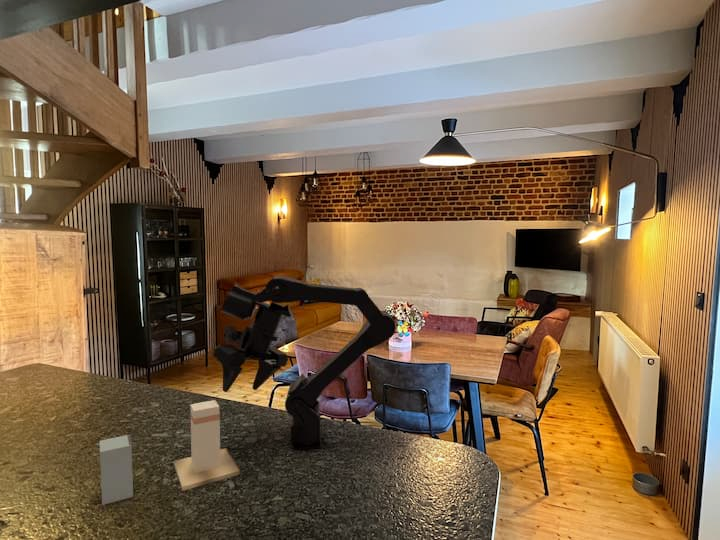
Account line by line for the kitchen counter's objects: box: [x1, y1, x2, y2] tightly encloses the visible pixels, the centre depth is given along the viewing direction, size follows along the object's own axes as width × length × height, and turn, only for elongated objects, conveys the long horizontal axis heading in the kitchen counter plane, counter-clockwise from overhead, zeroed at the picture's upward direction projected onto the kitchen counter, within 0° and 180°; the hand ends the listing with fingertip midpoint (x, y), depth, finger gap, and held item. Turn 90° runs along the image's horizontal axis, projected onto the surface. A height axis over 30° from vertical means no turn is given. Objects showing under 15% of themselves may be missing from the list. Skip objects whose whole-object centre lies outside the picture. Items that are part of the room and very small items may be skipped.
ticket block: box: [99, 434, 134, 506], centre depth 81 cm, size 5×5×10 cm
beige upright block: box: [189, 399, 221, 473], centre depth 90 cm, size 5×4×13 cm
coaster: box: [172, 447, 241, 492], centre depth 90 cm, size 11×11×1 cm
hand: (239, 390), depth 99 cm, fingers open, 9 cm apart
